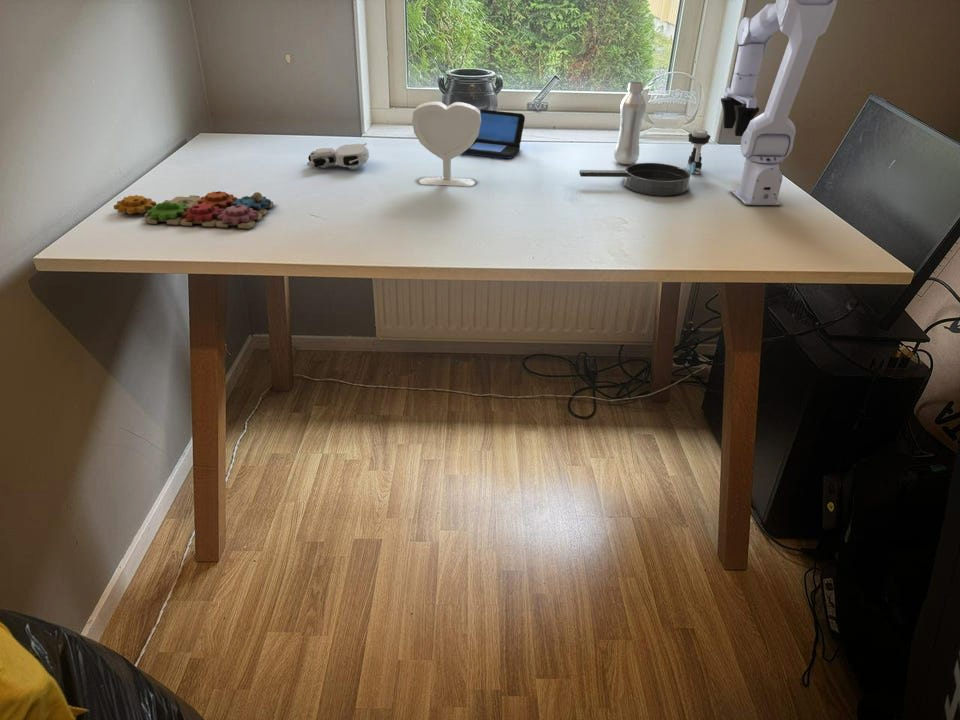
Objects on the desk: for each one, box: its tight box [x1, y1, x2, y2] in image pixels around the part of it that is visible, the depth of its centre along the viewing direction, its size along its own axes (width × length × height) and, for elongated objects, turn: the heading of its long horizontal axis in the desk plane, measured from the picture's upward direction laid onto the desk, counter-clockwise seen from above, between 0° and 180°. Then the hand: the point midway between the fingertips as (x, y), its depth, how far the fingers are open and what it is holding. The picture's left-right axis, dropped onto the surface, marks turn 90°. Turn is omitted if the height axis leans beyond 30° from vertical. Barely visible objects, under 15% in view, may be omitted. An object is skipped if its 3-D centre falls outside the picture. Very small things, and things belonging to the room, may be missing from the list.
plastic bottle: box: [613, 81, 647, 165], centre depth 176 cm, size 6×7×20 cm
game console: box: [462, 108, 526, 160], centre depth 187 cm, size 16×13×9 cm
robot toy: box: [306, 143, 370, 170], centre depth 173 cm, size 12×4×15 cm
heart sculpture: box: [411, 100, 481, 187], centre depth 160 cm, size 16×5×18 cm, turn 88°
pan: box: [623, 162, 691, 197], centre depth 165 cm, size 15×15×4 cm
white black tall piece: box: [686, 129, 711, 175], centre depth 174 cm, size 7×5×10 cm
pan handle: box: [579, 169, 627, 178], centre depth 163 cm, size 2×11×1 cm, turn 93°
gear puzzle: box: [113, 190, 274, 230], centre depth 142 cm, size 31×16×4 cm, turn 85°
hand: (733, 131), depth 173 cm, fingers open, 7 cm apart
